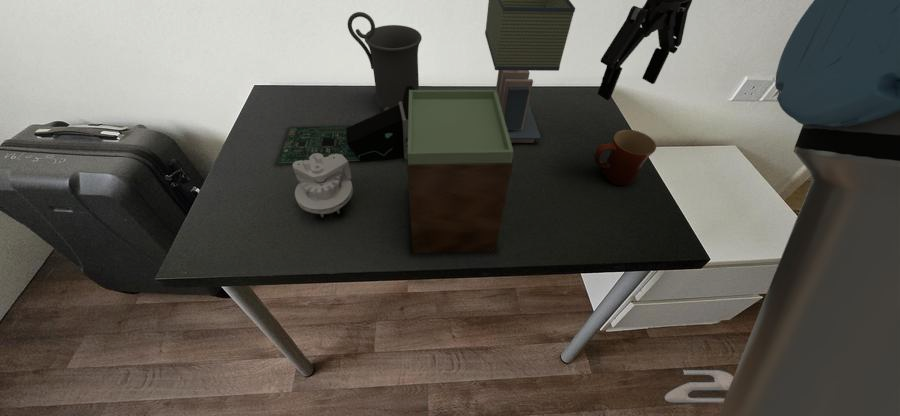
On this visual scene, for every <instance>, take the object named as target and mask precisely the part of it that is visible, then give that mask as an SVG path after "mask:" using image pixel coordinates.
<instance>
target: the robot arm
mask: <svg viewBox="0 0 900 416" xmlns="http://www.w3.org/2000/svg"><path fill="white" fill-rule="evenodd" d="M692 4H693V0H645V3H644V4H643V6H642V7H638V6H636V5H633V6H632V7H631V8H630V9H629V12H628V14H627V17H626V19H625V21H624V22H623V24H622V26H621V27H620V29H619V30H618V32H617V33H616V34H615V36H614V38H613V39H612V40H611V43H610V44H609V46H608V47H607V49H606V50H605V51H604V54H603V55H602V57H601V58H600V63H602V64H604V65H605V66H606V67H605V71H604V74H603V76H602V79H601V82H600V85H599V89H598V91H597V95H598V96H600V97H601V98H603V99H604V100H606V101H609V100H611V98H612V96H613V93H614V91H615V88H616V86H617V84H618V81H619V78H620V75H621V73H622V71H623V67H621V66H622V65H624V63H625V62H626V60H627V59H628V58H629V57H630V56H631V54H632V53H633V52H634V51H635V49H636V48H638V46H639V45H640V43H642V41H643V40H644V39H645V38H648V37H649V36H650V35H651V34H652V33H654V32H656V31H657V37H658V44H659V45H658V47H656V48H655V49H654V51H653V53H652V56H651V58H650V60H649V61H648V62H649V63H648V64H647V67H646V68H645V71H644V73H643V75H642V80H644V81H646V82H648V83H649V84H651V85H654V84H656V82H657V80H658V77H659V75H660V73H661V71H662V70H663V67H664V65H665V64H666V61H667V59H668V57H669V55H670V53H671V54H675V53H677V51H678V47H680V46H681V45H682V41H683V37H684V32H685V27H686V23H687V18H688V13H689V10H690V7H691V5H692ZM774 82H775V83H774V84H775V89H776V90H777V91H779V93H778V94H777V97H776V100H777V102H778V104H779V107H780V108H781V110H782V111H783V112H784V113H785V114H786V115H787V116H788V117H790V118H791V119H793V120H795V121H796V122H797V123H799V124H801V125H802V127H801V129H800V132H799V134H798V137H797V140H796V142H795V145H794V149H793V153H794V154H795V155H796V156H797V158H798V159H799V160H800V161H801V163H802V164H803V165H804V166H805V168H806V169H807V170H808V172H809V174H810V178H811V181H810V184H809V187H808V189H807V192H806V194H805V196H804V200H803V202H802V204H801V207H800V209H799V212H798V214H797V217H796V219H795V221H794V224H793V227H792V229H791V232H790V234H789V236H788V239H787V242H786V244H785V247H784V249H783V252H782V254H781V257H780V258H779V259H780V260H779V262H778V264H777V267H776V270H775V271H774V274H773V277H772V279H771V281H770V285H769V287H768V289H767V292H766V294H765V297H764V299H763V302H762V305H761V307H760V309H759V312H758V315H757V317H756V320H755V322H754V324H753V327H752V329H751V332H750V335H749V336H748V339H747V342H746V345H745V347H744V349H743V353H742V355H741V357H740V359H739V363H738V365H737V367H736V369H735V372H734V375H733V377H732V380H731V382H730V384H729V387H728V390H727V393H726V395H725V397H724V399H723V402H722V405H721V408H720V410H719V413H718V415H717V416H900V0H813V1H812V2H811V4H810V5H809V6H808V8H807V9H806V10H805V12H804V13H803V14H802V16H801V18H800V19H799V21H798V22H797V24H796V25H795V27H794V29H793V31H792V32H791V34H790V35H789V38H788V39H787V42H786V43H785V45H784V48H783V50H782V52H781V55H780V58H779V62H778V65H777V68H776V73H775V81H774Z"/></svg>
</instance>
